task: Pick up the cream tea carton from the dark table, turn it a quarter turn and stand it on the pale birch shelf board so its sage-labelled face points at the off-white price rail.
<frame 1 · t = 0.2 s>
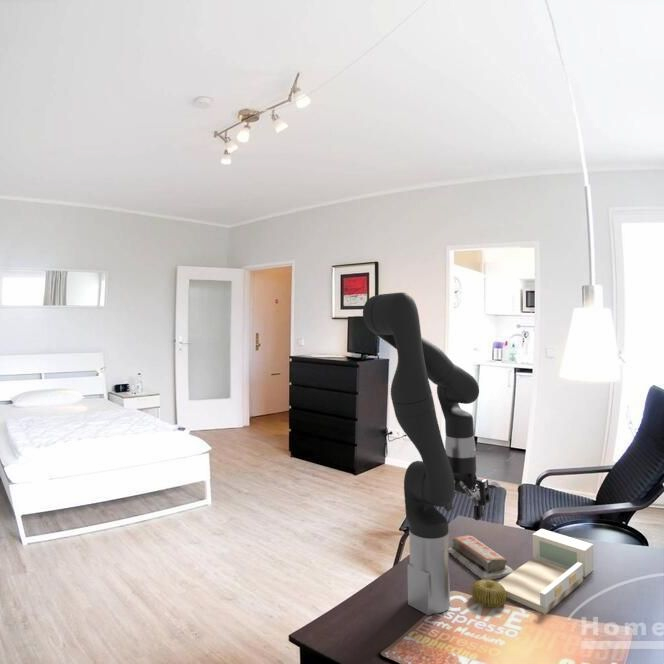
hand: (463, 514, 121), 17 cm above the table, tool pointing down, fingers open, 8 cm apart
shelf board: (538, 586, 118), on the table
tea carton: (562, 564, 129), on the table
sculpture: (489, 602, 112), on the table
price rail: (563, 583, 113), on the shelf board, point 2 cm above the table
packaged product: (479, 564, 131), on the table
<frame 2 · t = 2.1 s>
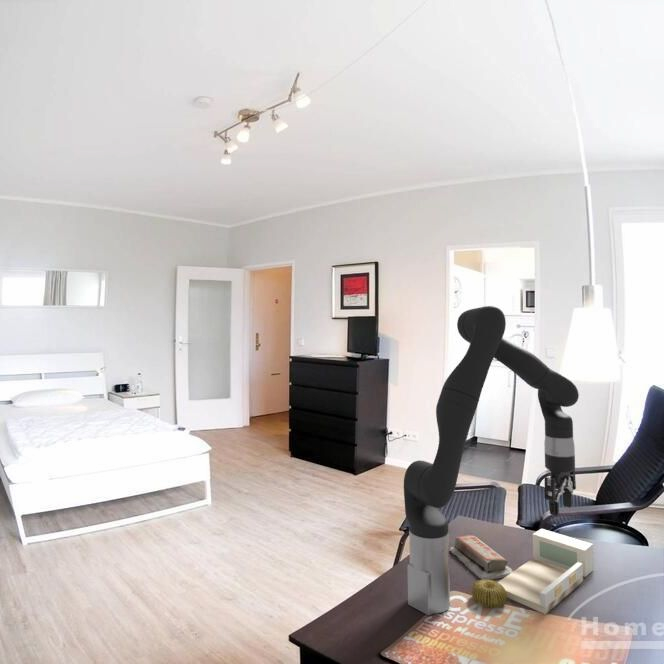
hand: (561, 510, 129), 15 cm above the table, tool pointing down, fingers open, 8 cm apart
nothing on the table moved.
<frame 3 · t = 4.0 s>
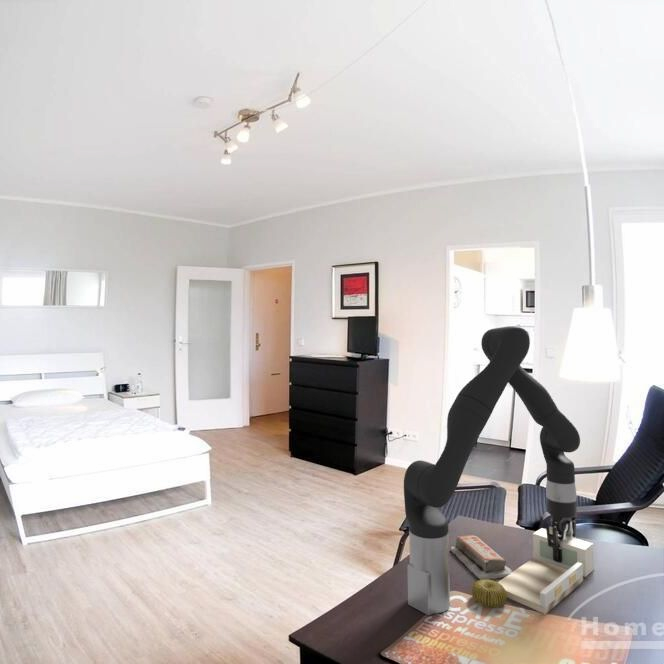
hand: (562, 557, 129), 2 cm above the table, tool pointing down, fingers closed on tea carton, 5 cm apart
tea carton: (562, 563, 129), on the table, touching gripper
everything else where it was.
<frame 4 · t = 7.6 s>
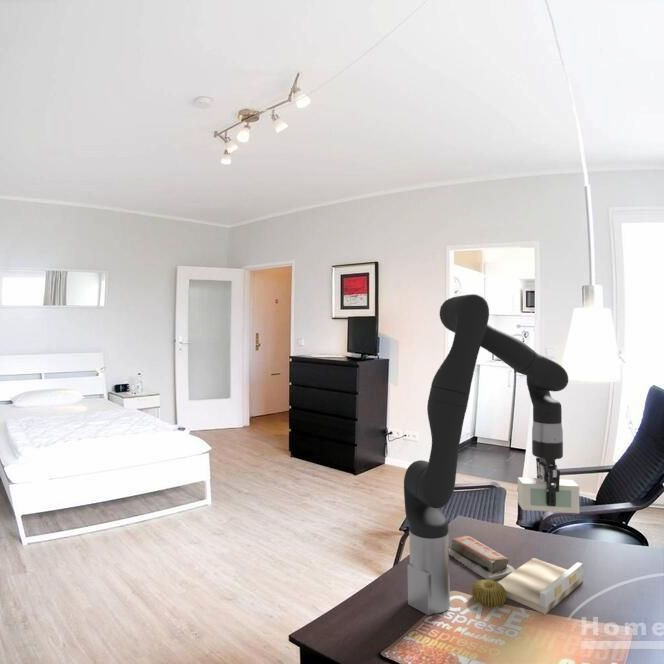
hand: (547, 501, 125), 19 cm above the table, tool pointing down, fingers closed on tea carton, 5 cm apart
tea carton: (547, 507, 125), point 17 cm above the table, touching gripper
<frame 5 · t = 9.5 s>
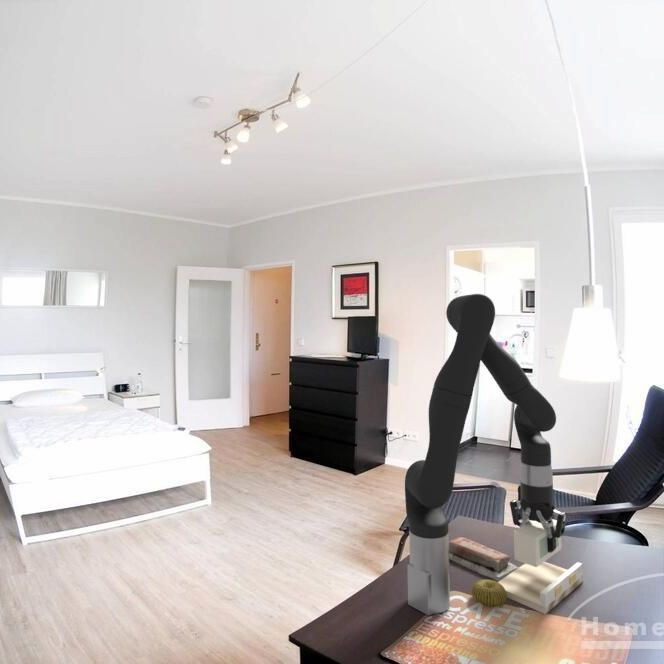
hand: (538, 547, 118), 10 cm above the table, tool pointing down, fingers closed on tea carton, 5 cm apart
tea carton: (538, 553, 118), point 8 cm above the table, touching gripper
when the fingers open (4 cm above the table, at t = 11.3 s): tea carton stays where it is, resting on shelf board.
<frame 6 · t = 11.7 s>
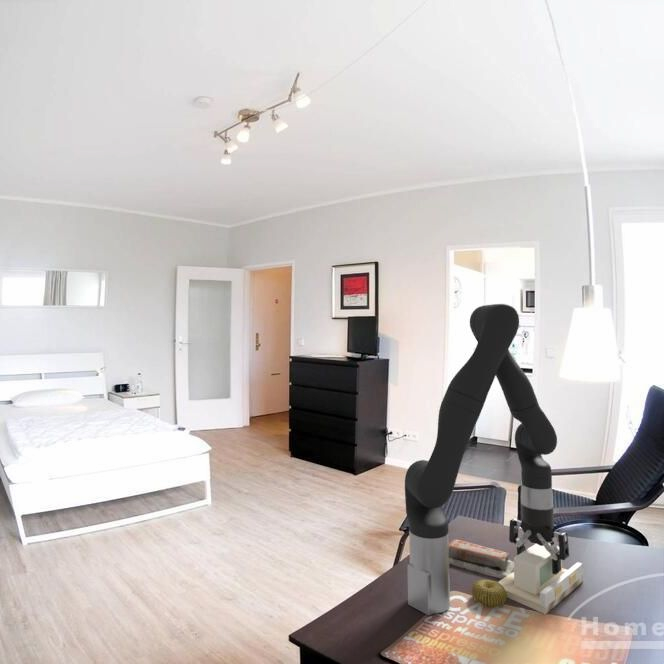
hand: (538, 567, 118), 5 cm above the table, tool pointing down, fingers open, 8 cm apart
tea carton: (538, 580, 118), point 1 cm above the table, touching shelf board
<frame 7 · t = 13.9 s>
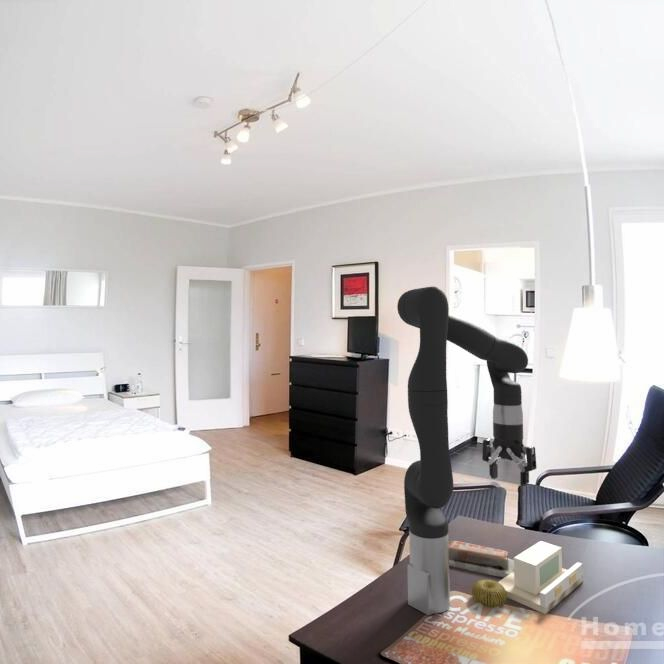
hand: (508, 481, 125), 24 cm above the table, tool pointing down, fingers open, 8 cm apart
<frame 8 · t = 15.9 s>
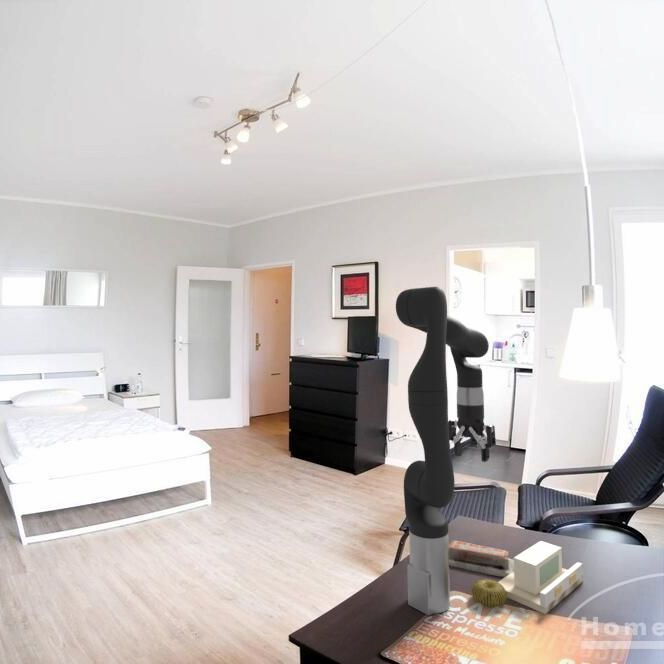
hand: (471, 458, 135), 28 cm above the table, tool pointing down, fingers open, 8 cm apart
at the end: tea carton inside the target area on the shelf board (0.5 cm from its centre), point 1.5 cm above the shelf board's base; tea carton tilted 0°; the gripper is holding nothing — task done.
